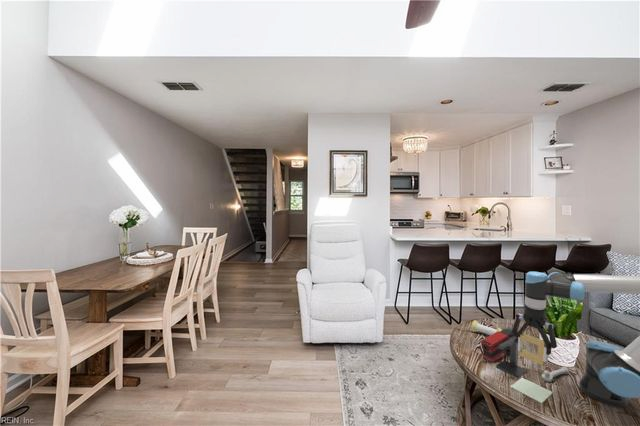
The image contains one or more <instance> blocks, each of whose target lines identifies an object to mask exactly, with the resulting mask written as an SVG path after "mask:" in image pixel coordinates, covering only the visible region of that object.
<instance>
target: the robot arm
mask: <svg viewBox="0 0 640 426" xmlns="http://www.w3.org/2000/svg"><path fill="white" fill-rule="evenodd" d="M524 282H525V287H524V290H525V291H524V294H525V295H524V307H523V308H524V309H523V314H521V313H520V312H518V313H516V314H515V321H514V324H513V327H512V328H513V329H512V333H513V334H515V335H516V342H517V343H518V352H520V351H521V350H522V349H523V348H522V345H524V344H523V343H524V340H523V339H520V335H521V334H522V333H524V332H525V331H526V329H527V328H528V327H532V328H534V329H537V331H538V332H539V334H540V336H541V338H542V339H541V340H543V341H544V343H545V345H546V346H545V347H544V355H543V361H544V362H545V363H546V362H548V361H549V356H550V355H551V354H552V349H556V348H557V347H558V345H557V340H556V335H555V330H554V328H555V323H549V322H548V321H547V320H546V314H547V312H546V311H547V310H546V308H547V296H548V297H552V298H553V297H554V298H559V299H560V298H561V299H567V300H571V301H583V300H584V299H585V295H586V292H587V293H603V294H604V293H605V294H606V293H607V294H621V295H622V294H623V295H624V294H625V295H640V275H611V274H610V275H609V274H608V275H607V274H577V273H575V274H573V273H572V274H570V273H563V272H557V271H554V272H550V273H549V274H546V273H544V272H539V271H528V272H527V273H526V276H525V281H524ZM521 320H524V323H523V325H522V326H521V327H520V324H521ZM544 326H546V328H547V332H546V330H545V327H544ZM519 327H520V329H519ZM518 329H519V330H518ZM547 333H548V335H547ZM585 348H586V353H585V357H586V358H585V372H584V373H583V375H582V377H581V378H580V380H579V382H578V384H579V386H578V387H579V390H581V392H582V393H584V394H585V395H586V396H587V397H590V398H592V399H593V400H595V401H598V402H599V403H603V404H605V405H607V406H608V405H609V406H612V407H617V408H626V407H627V406H629V405H628V404H629V399H637V398H640V335H639V336H637V337H636V338H635V339H633V341H632V342H631V343H629V344H628V345H627V346H626V347H625V348H622V347H620V346H619V345H615V344H612V343H609V342H606V341H605V342H604V341H600V340H588V341H587V342H586V347H585Z"/></svg>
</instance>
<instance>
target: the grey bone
mask: <svg viewBox="0 0 640 426" xmlns="http://www.w3.org/2000/svg"><path fill="white" fill-rule="evenodd" d="M568 374H570V370H569V368H567V367H566V366H562V367H560V368H559V369H556V370H553V371H549V370H547V369H545V370H544V371H543V373H541V378H542V380H544V381H545V382H546V383H550V382H552V381H553V380H554V378H555V377H557V376H561V375H568Z"/></svg>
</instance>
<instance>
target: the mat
mask: <svg viewBox="0 0 640 426" xmlns="http://www.w3.org/2000/svg"><path fill="white" fill-rule="evenodd" d="M509 386H510V388H511V389H512V390H515V391H517V392H519V393H521V394H523V395H524V396H527V397H528V398H531V399H532V400H534V401H536V402H538V403H539V404H543V403H544V402H545V401H546V400H547V399H549V397H550V396H552V395H553V394H554V392H553V391H551V390H549V389H547V388H544V387H542V386H540V385H538V384H536V383H535V382H533V381H530V380H528V379H525V378H524V377H520V378H518V380H517V381H515V382H514V383H512V384H511V385H509Z"/></svg>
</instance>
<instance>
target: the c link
mask: <svg viewBox="0 0 640 426" xmlns="http://www.w3.org/2000/svg"><path fill="white" fill-rule="evenodd" d="M520 339H523V341H526V342H528V343H531V344H533V345H536V346H537V355H535V354H533V353H532V352H529V351H527V350H526V351H524V350H525V349H524V350H521V351H519V356H520V357H523V358H524V359H527V360H529V361H532V362H534V363H536V364H538V365H541V366H544V365H546V362H544V361H543V355H544V347H545V346H546V345H545V343H544V341H543V339H540V338H537V337H535V336H532V335H530V334H526V333H524V332H523V333H522V334H521V335H520Z"/></svg>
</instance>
